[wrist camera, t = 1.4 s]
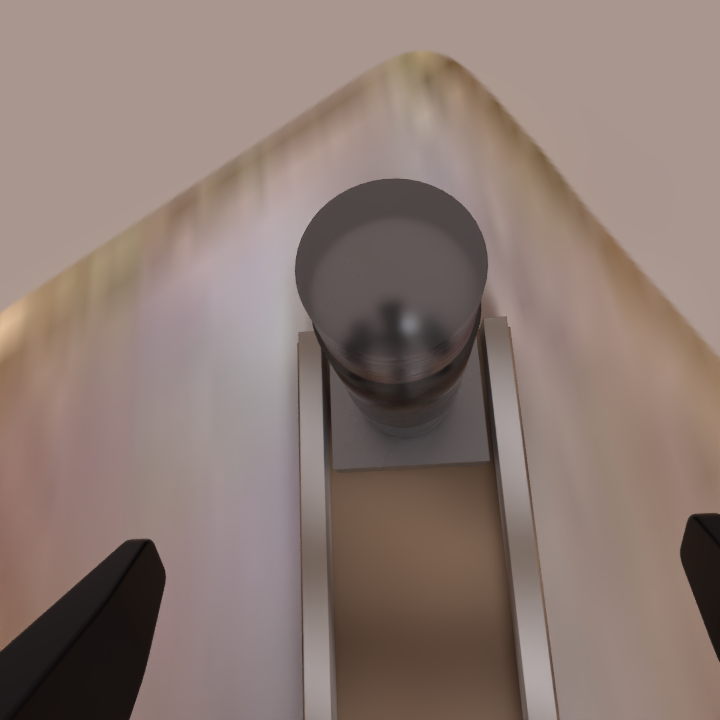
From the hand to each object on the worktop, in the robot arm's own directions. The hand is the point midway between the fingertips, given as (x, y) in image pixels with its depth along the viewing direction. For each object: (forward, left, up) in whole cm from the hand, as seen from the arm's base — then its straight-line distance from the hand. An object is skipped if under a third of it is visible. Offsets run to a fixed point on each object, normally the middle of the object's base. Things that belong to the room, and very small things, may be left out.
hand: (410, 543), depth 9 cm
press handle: (+4, -2, -10) cm, 11 cm away
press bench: (-4, +2, -11) cm, 12 cm away
